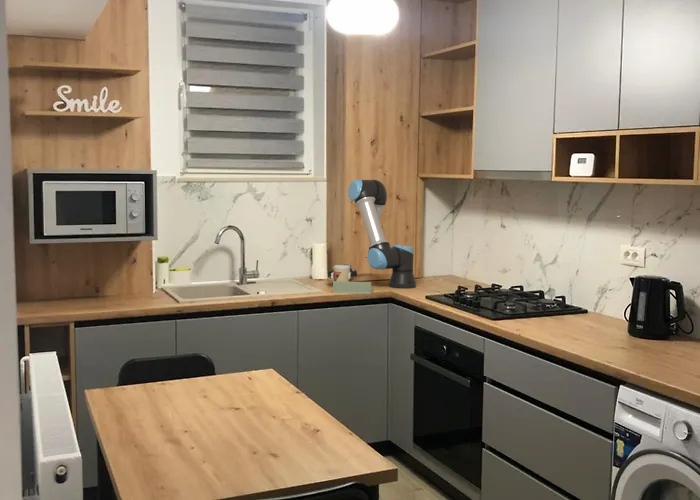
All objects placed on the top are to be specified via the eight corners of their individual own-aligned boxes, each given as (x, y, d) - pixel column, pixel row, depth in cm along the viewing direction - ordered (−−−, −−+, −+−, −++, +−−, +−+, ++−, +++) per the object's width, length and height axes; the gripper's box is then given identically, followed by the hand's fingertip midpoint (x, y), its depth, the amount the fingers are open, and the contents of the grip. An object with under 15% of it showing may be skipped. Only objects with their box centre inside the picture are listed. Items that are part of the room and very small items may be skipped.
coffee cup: (330, 286, 417) (330, 265, 416) (345, 286, 421) (346, 264, 420) (337, 289, 409) (337, 267, 407) (352, 288, 412) (353, 266, 411)
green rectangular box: (373, 289, 407) (373, 278, 406) (370, 293, 393) (370, 282, 392) (336, 289, 409) (336, 278, 408) (332, 292, 395) (333, 281, 395)
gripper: (364, 277, 431) (360, 283, 409) (327, 277, 433) (321, 282, 411) (364, 264, 430) (360, 269, 408) (327, 264, 433) (321, 268, 410)
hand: (340, 275), depth 410 cm, fingers closed on coffee cup, 9 cm apart
